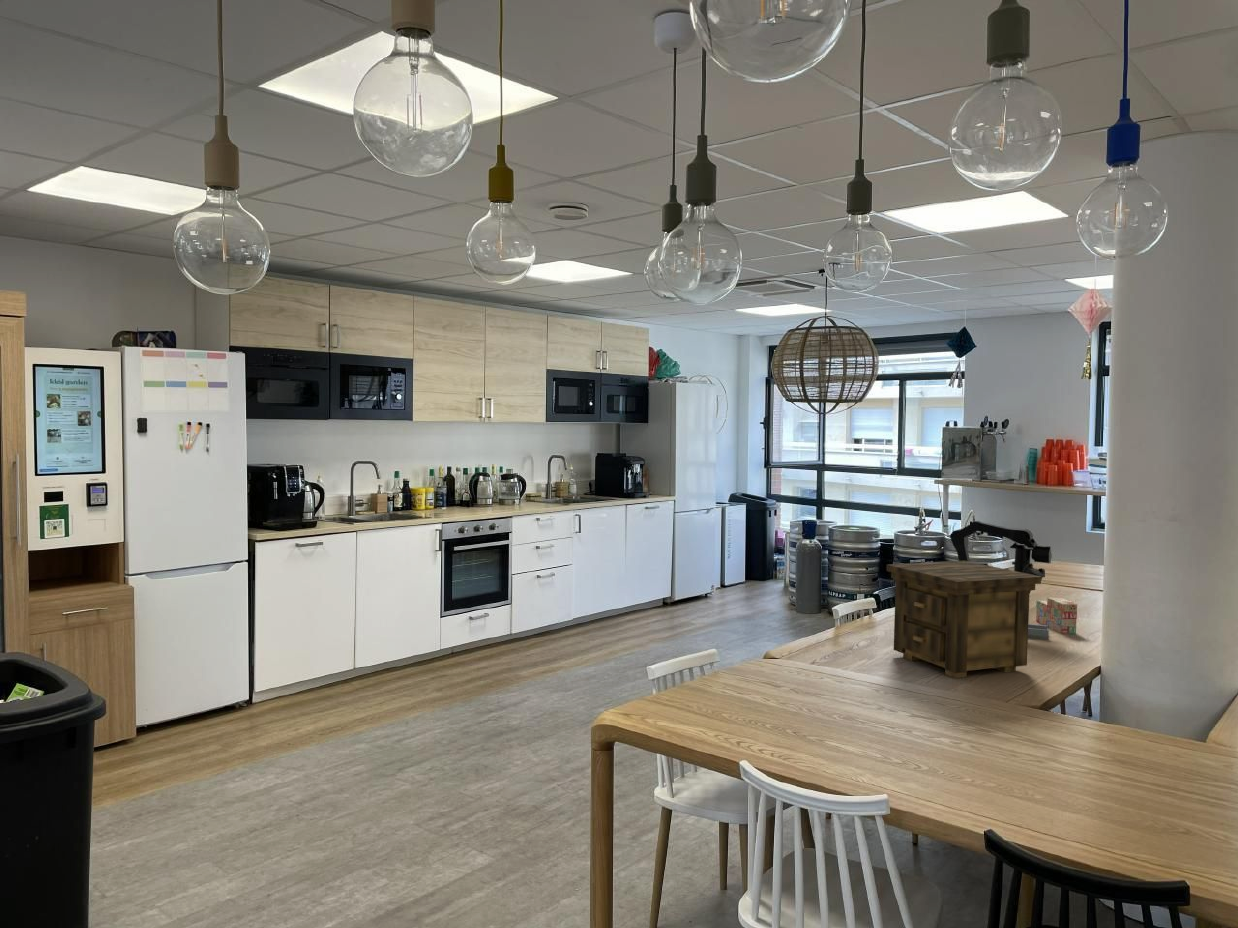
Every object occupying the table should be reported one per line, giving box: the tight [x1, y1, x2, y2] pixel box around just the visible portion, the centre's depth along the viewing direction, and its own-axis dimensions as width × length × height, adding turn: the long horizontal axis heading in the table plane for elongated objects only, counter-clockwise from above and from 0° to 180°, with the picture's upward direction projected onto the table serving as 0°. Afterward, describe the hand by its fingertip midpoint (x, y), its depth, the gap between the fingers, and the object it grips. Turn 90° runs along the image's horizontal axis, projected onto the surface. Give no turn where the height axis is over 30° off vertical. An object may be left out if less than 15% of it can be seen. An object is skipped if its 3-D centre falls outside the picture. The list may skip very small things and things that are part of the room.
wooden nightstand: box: [885, 560, 1042, 678], centre depth 294 cm, size 35×35×33 cm
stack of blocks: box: [1035, 597, 1078, 635], centre depth 353 cm, size 21×6×12 cm, turn 179°
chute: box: [1028, 623, 1050, 640], centre depth 340 cm, size 20×9×4 cm, turn 66°
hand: (1019, 598), depth 346 cm, fingers open, 9 cm apart
